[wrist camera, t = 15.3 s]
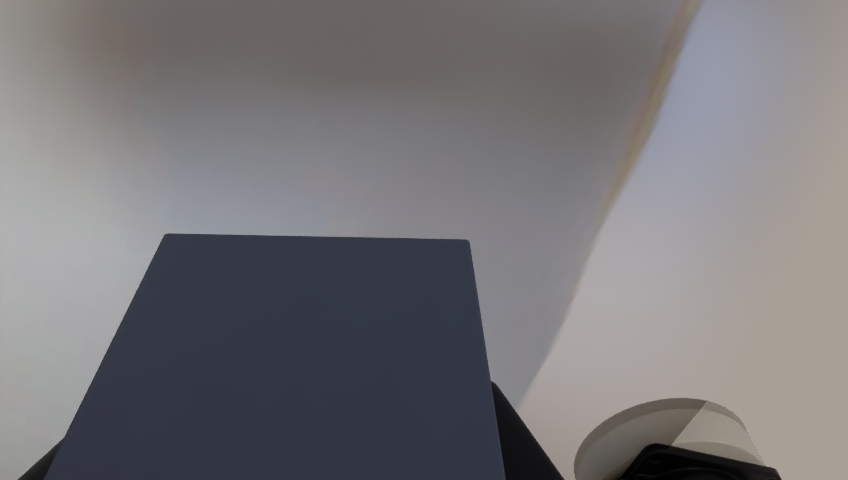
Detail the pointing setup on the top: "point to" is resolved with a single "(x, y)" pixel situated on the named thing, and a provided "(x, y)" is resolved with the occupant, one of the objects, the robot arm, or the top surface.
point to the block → (293, 366)
